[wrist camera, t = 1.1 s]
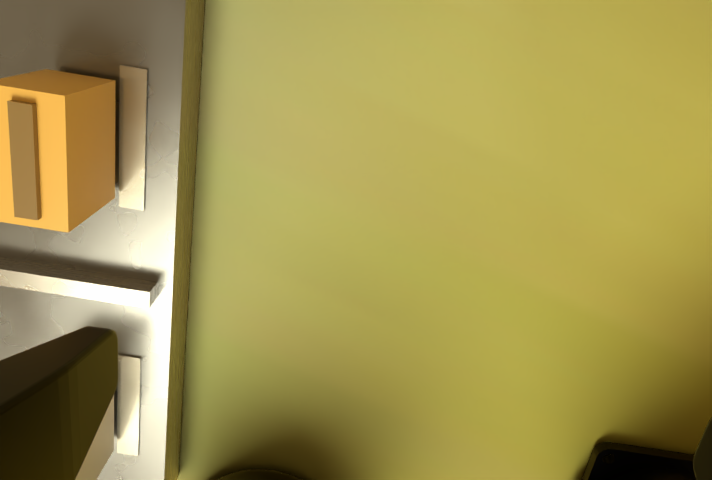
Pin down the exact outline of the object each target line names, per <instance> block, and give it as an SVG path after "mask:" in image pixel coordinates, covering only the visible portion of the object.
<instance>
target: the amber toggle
mask: <svg viewBox="0 0 712 480" xmlns="http://www.w3.org/2000/svg"><path fill="white" fill-rule="evenodd" d="M114 198H115V80H110V79H104V78H98V77H92V76H85V75H79V74H73V73H67V72H61V71H55V70H49V69H44V70H39V71H35V72H30V73H25V74H20V75H15V76H11V77H6V78H1V79H0V222H4V223H11V224H17V225H23V226H30V227H36V228H43V229H49V230H55V231H62V232H68V233H69V232H70V231H71V230H73V229H74V228H75V227H77V226H78V225H79V224H81V223H82V222H83V221H85V220H86V219H87V218H89V217H90V216H91V215H93V214H94V213H95V212H97V211H98V210H99V209H101V208H102V207H103V206H105V205H106V204H107V203H109V202H110V201H111V200H113V199H114Z"/></svg>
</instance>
